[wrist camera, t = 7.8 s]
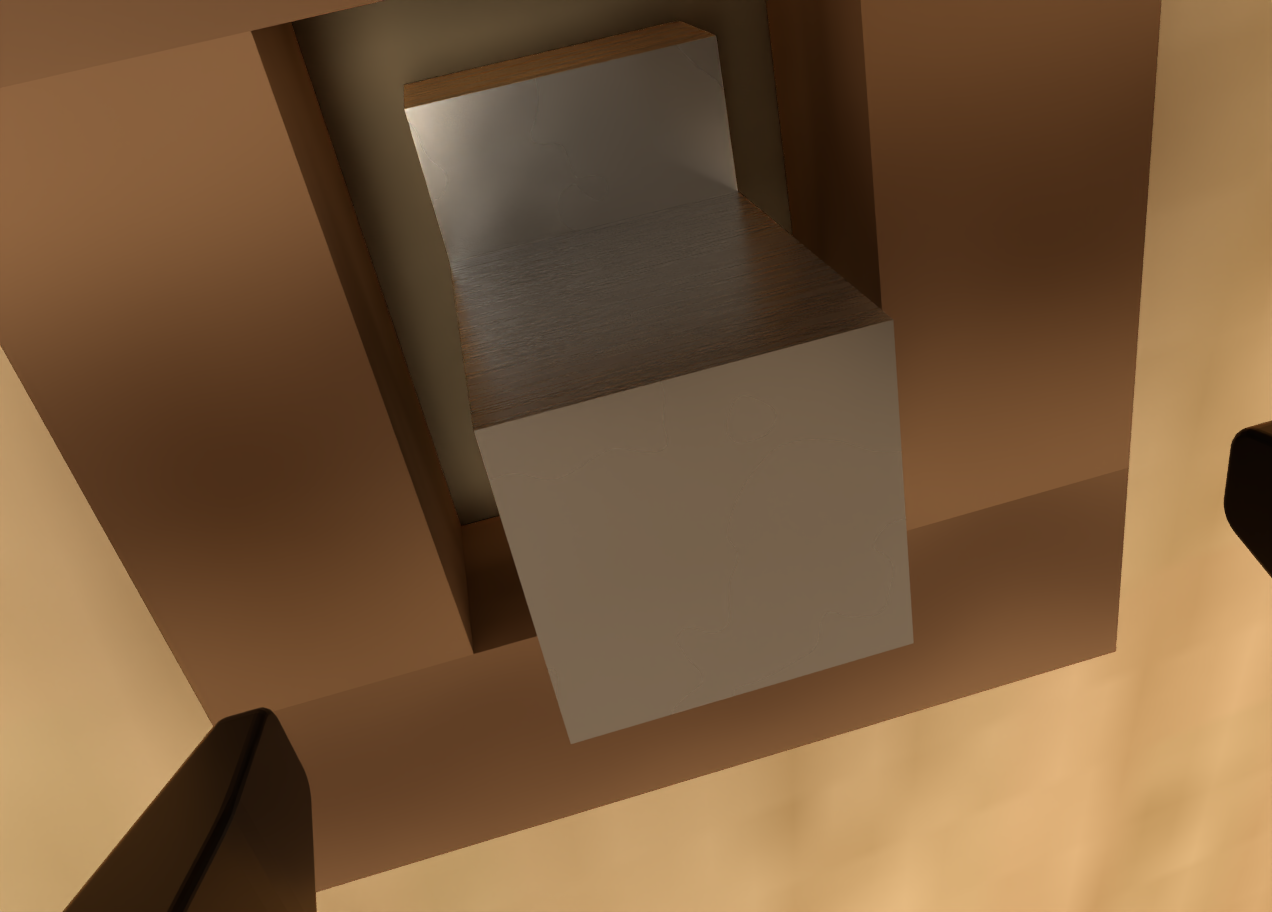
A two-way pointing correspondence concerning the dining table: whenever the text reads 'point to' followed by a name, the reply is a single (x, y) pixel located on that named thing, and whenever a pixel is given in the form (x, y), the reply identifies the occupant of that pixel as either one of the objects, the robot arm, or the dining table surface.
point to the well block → (400, 440)
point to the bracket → (661, 384)
